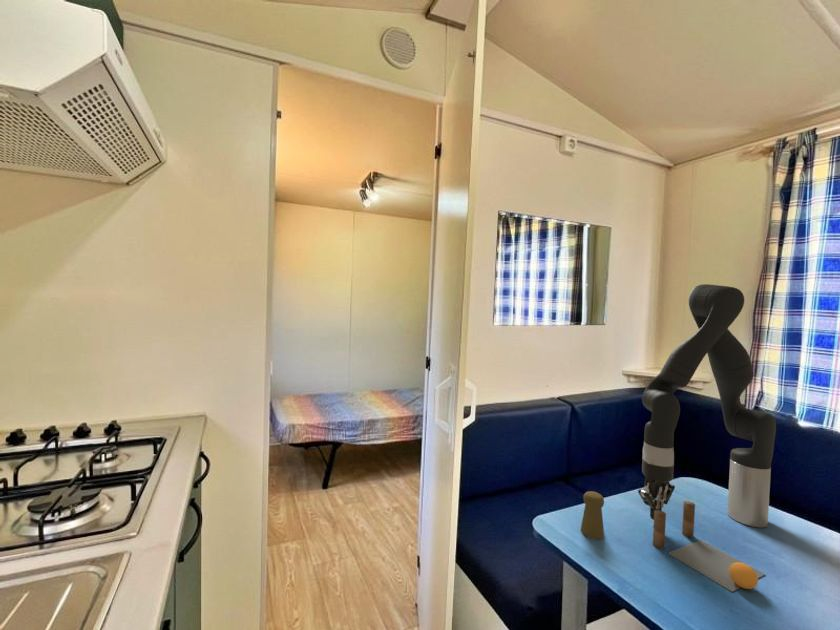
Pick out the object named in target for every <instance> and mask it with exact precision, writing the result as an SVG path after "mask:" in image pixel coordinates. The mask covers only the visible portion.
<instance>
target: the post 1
mask: <svg viewBox="0 0 840 630" xmlns="http://www.w3.org/2000/svg"><path fill="white" fill-rule="evenodd" d="M666 518H667V514H666V512H665V511H663V510H662V511H661V510H654V520H653V532H652V533H653V534H652V545H653V547H654V548H657V549H659V550H663V549H665V542H666V523H667V522H666V521H667V519H666Z"/></svg>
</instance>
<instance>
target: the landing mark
mask: <svg viewBox="0 0 840 630" xmlns="http://www.w3.org/2000/svg"><path fill="white" fill-rule="evenodd" d="M668 555H670V556H672V557H673V558H675V559H677V560H678V561H680V562H681V563H683V564H685V565H686V566H689V567H690V568H692V569H693V570H695V571H696V572H698V573H699V574H701V575H703V576H705V577H707V578H708V579H709V580H711V581H713V582H715V583H716V584H718V585H720V586H721V587H723V588H724V589H726V590H727V591H729V592H731V593H733V592H736V591H737V590H739V589H741V588H742V587H740V586H738V585H737V584H736V583H735V582H734V581H733V580H732V578H731V577H730V574H729V568H730V566H731V565H732V564H733V563H737V562H740V563H744V564H746V565H748V566H749V567H751V568H752V569H753V570H754V571H755V573H756V575H757V577H758V579H761V578H763V577H764V576H766V573H764V572H762V571H760V570H759V569H756V568H755V567H753V566H751V565H749V564H747V563H746V562H743V561H742V560H740V559H738V558H736V557H734V556H732V555H730V554H728V553H726V552H725V551H722V550H721V549H719V548H717V547H715V546H713V545H711V544H709V543H708V542H706V541H704V540H702V539H699V540H697V541H695V542H692V543H689V544H687V545H685V546H682V547H679V548H677V549H675V550H672V551H670V552H668Z"/></svg>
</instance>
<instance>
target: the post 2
mask: <svg viewBox="0 0 840 630" xmlns="http://www.w3.org/2000/svg"><path fill="white" fill-rule="evenodd" d="M682 505H683V507H682V509H683V510H682V526H681V527H682V528H681V534H682V535H683V536H684V537H687V538H689V539H693V538H694V535H695V534H694V532H695V517H696V516H695V514H696V513H695V512H696V511H695V510H696V504H695V503H694V502H692V501H690V500H683V504H682Z"/></svg>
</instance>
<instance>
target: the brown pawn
mask: <svg viewBox="0 0 840 630" xmlns="http://www.w3.org/2000/svg"><path fill="white" fill-rule="evenodd" d="M583 503H584V504H585V505H584V510H583V515H582V520H581V525H580V532H581V534H583V535H584V536H585V537H587V538H589V539H592V540H593V539H594V540H602V539H603V538H604V537H605V529H604V519H603V508H604V505H605V500H604V497H603V495H602V494H600V493H598V492H597V491H591V490H590V491H589V490H588V491H585V493H584V494H583Z"/></svg>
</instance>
